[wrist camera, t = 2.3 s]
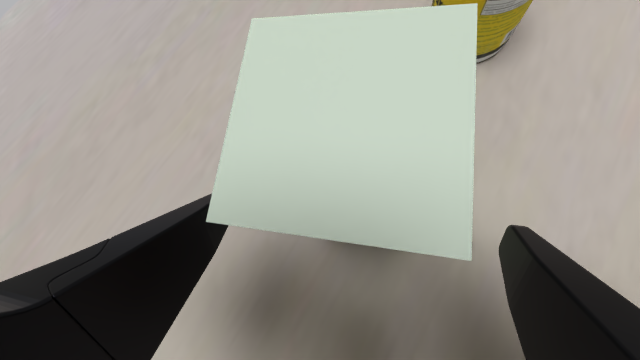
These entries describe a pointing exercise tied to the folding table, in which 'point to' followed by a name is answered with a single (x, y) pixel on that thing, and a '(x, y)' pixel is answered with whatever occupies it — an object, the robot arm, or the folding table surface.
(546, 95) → the folding table surface
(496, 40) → the supplement bottle
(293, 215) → the sage post
